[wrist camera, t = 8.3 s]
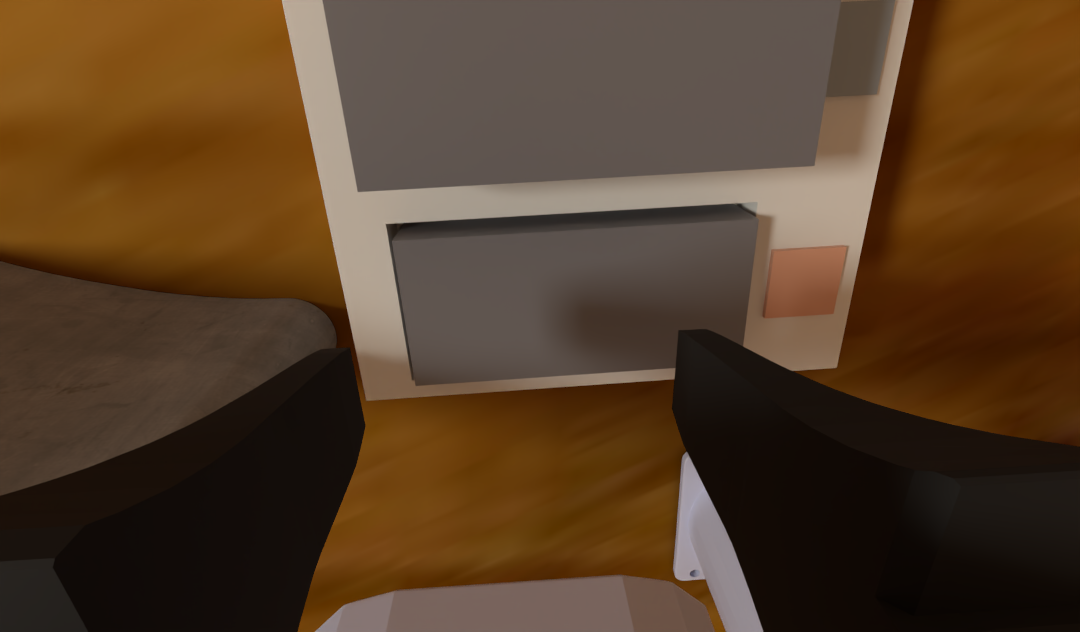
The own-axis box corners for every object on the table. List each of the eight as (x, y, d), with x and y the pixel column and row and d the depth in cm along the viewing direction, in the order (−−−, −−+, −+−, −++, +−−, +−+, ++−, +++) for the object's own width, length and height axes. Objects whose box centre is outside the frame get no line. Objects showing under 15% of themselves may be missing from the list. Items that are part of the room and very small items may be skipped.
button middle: (801, -62, 13) (854, -84, 11) (774, 152, 15) (814, 166, 13) (340, -42, 13) (311, -62, 11) (377, 175, 15) (357, 191, 13)
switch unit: (922, -410, 14) (1032, -535, 11) (797, 331, 23) (839, 370, 20) (240, -396, 13) (167, -524, 10) (383, 359, 22) (365, 404, 19)
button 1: (731, 202, 19) (758, 218, 17) (718, 334, 21) (740, 363, 19) (404, 221, 18) (392, 241, 16) (424, 354, 20) (415, 385, 18)
